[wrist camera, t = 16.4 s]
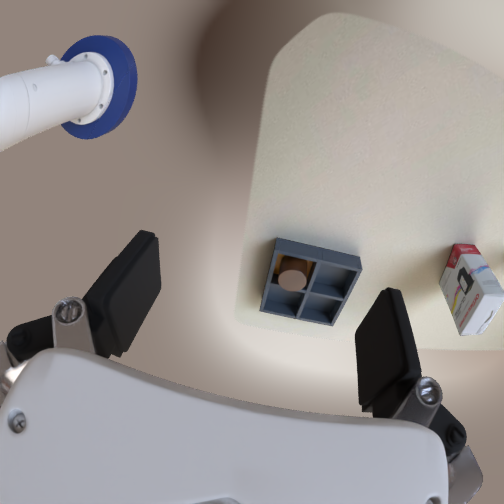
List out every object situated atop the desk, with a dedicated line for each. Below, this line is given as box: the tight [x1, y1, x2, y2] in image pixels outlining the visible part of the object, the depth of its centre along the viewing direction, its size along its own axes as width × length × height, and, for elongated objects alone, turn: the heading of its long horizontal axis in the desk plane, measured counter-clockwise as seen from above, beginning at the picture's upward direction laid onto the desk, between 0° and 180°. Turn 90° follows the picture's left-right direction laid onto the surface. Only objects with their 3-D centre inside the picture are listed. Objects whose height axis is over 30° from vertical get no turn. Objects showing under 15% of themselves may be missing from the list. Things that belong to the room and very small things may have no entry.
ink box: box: [439, 244, 504, 336], centre depth 32 cm, size 9×5×12 cm, turn 3°
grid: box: [259, 238, 362, 326], centre depth 42 cm, size 13×13×3 cm
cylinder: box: [278, 255, 307, 291], centre depth 40 cm, size 4×4×4 cm
